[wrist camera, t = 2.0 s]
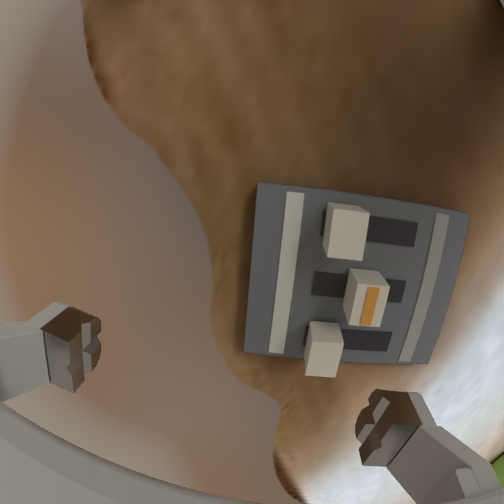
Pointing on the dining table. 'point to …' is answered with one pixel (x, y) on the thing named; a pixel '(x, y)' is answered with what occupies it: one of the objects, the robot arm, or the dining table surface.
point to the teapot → (499, 469)
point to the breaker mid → (365, 297)
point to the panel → (337, 270)
